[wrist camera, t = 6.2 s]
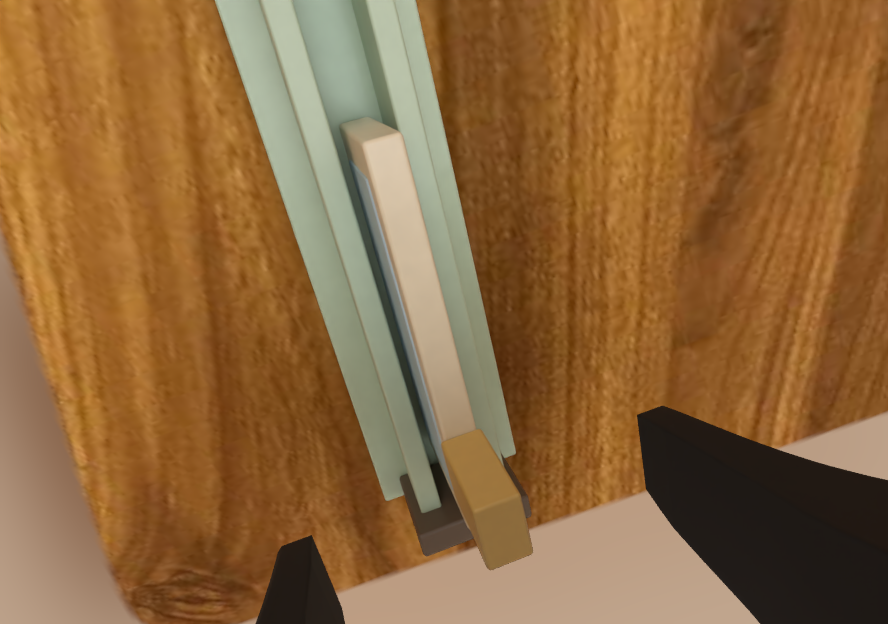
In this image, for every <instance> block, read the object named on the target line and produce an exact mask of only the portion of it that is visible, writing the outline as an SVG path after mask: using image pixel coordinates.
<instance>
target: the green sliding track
mask: <svg viewBox="0 0 888 624" xmlns="http://www.w3.org/2000/svg"><path fill="white" fill-rule="evenodd" d="M215 3H216V6H217V9H218V12H219V15H220V18H221V20H222V23H223V26H224V29H225V32H226V35H227V38H228V41H229V44H230V47H231V50H232V53H233V56H234V59H235V61H236V64H237V67H238V70H239V73H240V76H241V79H242V82H243V85H244V88H245V91H246V94H247V97H248V99H249V102H250V105H251V108H252V111H253V114H254V117H255V120H256V123H257V126H258V129H259V132H260V135H261V138H262V140H263V143H264V146H265V149H266V152H267V155H268V158H269V161H270V164H271V167H272V170H273V173H274V176H275V178H276V181H277V184H278V187H279V190H280V193H281V196H282V199H283V202H284V205H285V208H286V211H287V214H288V217H289V219H290V222H291V225H292V228H293V231H294V234H295V237H296V240H297V243H298V246H299V249H300V252H301V255H302V257H303V260H304V263H305V266H306V269H307V272H308V275H309V278H310V281H311V284H312V287H313V290H314V293H315V295H316V298H317V301H318V304H319V307H320V310H321V313H322V316H323V319H324V322H325V325H326V328H327V331H328V334H329V336H330V339H331V342H332V345H333V348H334V351H335V354H336V357H337V360H338V363H339V366H340V369H341V372H342V374H343V377H344V380H345V383H346V386H347V389H348V392H349V395H350V398H351V401H352V404H353V407H354V410H355V413H356V415H357V418H358V421H359V424H360V427H361V430H362V433H363V436H364V439H365V442H366V445H367V448H368V451H369V453H370V456H371V459H372V462H373V465H374V468H375V471H376V474H377V477H378V480H379V483H380V486H381V489H382V492H383V494H384V497H385V500H386V501H389V500H392V499H394V498H397V497H400V496H402V495H404V496H405V499H406V502H407V505H408V508H409V511H410V514H411V517H412V520H413V523H414V526H415V529H416V533H417V536H418V539H419V542H420V545H421V548H422V551H423V554H424V555H425V556H429V555H432V554H435V553H437V552H440V551H442V550H445V549H448V548H450V547H453V546H455V545H458V544H461V543H463V542H466V541H468V540H471V539H474V537H473V535H472V533H471V531H470V529H469V528H468V527H467V525H466V523H465V521H464V518H463V516H462V514H461V512H460V509H459V507H458V505H457V502H456V500H455V498H454V496H453V493H452V491H451V489H450V487H449V484H448V482H447V480H446V477H445V475H444V473H443V471H442V468H441V466H440V464H439V462H438V459H437V457H436V455H435V452H434V450H433V448H432V446H431V443H430V440H429V437H428V434H427V430H426V427H425V424H424V420H423V417H422V413H421V410H420V406H419V403H418V399H417V396H416V393H415V389H414V386H413V382H412V379H411V375H410V372H409V368H408V365H407V361H406V358H405V355H404V351H403V348H402V344H401V341H400V337H399V334H398V330H397V327H396V324H395V320H394V317H393V313H392V310H391V306H390V303H389V299H388V296H387V292H386V289H385V286H384V282H383V279H382V275H381V272H380V268H379V265H378V261H377V258H376V255H375V251H374V248H373V244H372V241H371V237H370V234H369V230H368V227H367V223H366V220H365V217H364V213H363V210H362V206H361V203H360V199H359V196H358V192H357V189H356V186H355V182H354V179H353V175H352V172H351V168H350V165H349V161H348V157H347V154H346V150H345V147H344V143H343V140H342V137H341V133H340V130H339V125H340V124H342V123H345V122H349V121H353V120H356V119H360V118H364V117H370V118H372V119H374V120H376V121H379V122H381V123H383V124H385V125H387V126H389V127H391V128H393V129H395V130H397V131H399V132H401V133H402V135H403V137H404V141H405V145H406V149H407V153H408V157H409V161H410V165H411V170H412V174H413V178H414V182H415V186H416V190H417V194H418V198H419V202H420V206H421V210H422V214H423V218H424V222H425V226H426V230H427V234H428V238H429V242H430V246H431V250H432V254H433V258H434V262H435V266H436V270H437V274H438V278H439V282H440V286H441V290H442V294H443V298H444V302H445V306H446V310H447V314H448V318H449V322H450V326H451V330H452V334H453V338H454V342H455V346H456V350H457V354H458V358H459V362H460V366H461V370H462V374H463V378H464V382H465V386H466V390H467V394H468V398H469V402H470V406H471V410H472V414H473V418H474V422H475V426H476V430H477V429H481V430H482V431H483V433H484V434H485V436H486V438H487V439H488V441H489V443H490V444H491V446H492V448H493V449H494V451H495V453H496V454H497V456H498V458H499V459H500V461H501V463H502V464H503V466H504V468H505V469H506V471H507V473H508V474H509V476H510V478H511V479H512V481H513V483H514V484H515V486H516V488H517V490H518V491H519V493H520V495H521V499H522V503H523V508H524V512H525V517H526V518H528V517H530V516H531V509H530V504H529V500H528V496H527V494H526V492H525V491H524V489H523V487H522V486H521V484H520V483H519V481H518V479H517V478H516V476H515V474H514V473H513V471H512V469H511V468H510V466H509V465H508V463H507V461H506V460H505V458H506V457H509V456H511V455H514V454H516V450H515V446H514V441H513V437H512V432H511V428H510V423H509V419H508V414H507V410H506V405H505V401H504V396H503V392H502V387H501V383H500V378H499V374H498V369H497V365H496V360H495V356H494V351H493V347H492V342H491V338H490V333H489V329H488V324H487V320H486V315H485V311H484V306H483V302H482V297H481V293H480V288H479V284H478V279H477V275H476V270H475V266H474V261H473V257H472V252H471V247H470V243H469V238H468V234H467V229H466V225H465V220H464V216H463V211H462V207H461V202H460V198H459V193H458V189H457V184H456V180H455V175H454V171H453V166H452V162H451V157H450V153H449V148H448V144H447V139H446V135H445V130H444V126H443V121H442V117H441V112H440V108H439V103H438V99H437V94H436V90H435V85H434V81H433V76H432V72H431V67H430V63H429V58H428V54H427V49H426V45H425V40H424V36H423V31H422V27H421V22H420V18H419V13H418V9H417V4H416V0H215Z"/></svg>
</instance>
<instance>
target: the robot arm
mask: <svg viewBox="0 0 888 624" xmlns="http://www.w3.org/2000/svg"><path fill="white" fill-rule="evenodd" d="M637 418H638V426H639V435H640V443H641V451H642V459H643V468H644V476H645V484H646V490H647V491H648V492H649V494H650V495H651V497H652V498H653V500H654V501H655V503H656V504H657V506H658V507H659V508H660V510H661V511H662V513H663V514H664V515H665V517H666V518H667V519H668V521H669V522H670V524H671V525H672V526H673V528H674V529H675V530H676V531H677V532H678V533H679V535H680V536H681V537H682V538H683V539H684V540H685V541H686V542H687V543H688V545H689V546H690V547H691V548H692V549H693V550H694V551H695V552H696V553H697V554H698V555H699V557H700V558H701V559H702V560H703V561H704V562H705V563H706V564H707V565H708V566H709V568H710V569H711V570H712V571H713V572H714V573H715V574H716V575H717V576H718V577H719V578H720V579H721V580H722V582H723V583H724V584H725V585H726V586H727V587H728V588H729V589H730V590H731V591H732V592H733V594H734V595H736V597H737V598H738V599H739V600H740V601H741V602H742V603H743V604H744V605H745V607H746V608H747V609H748V610H749V611H750V612H751V613H752V615H753V616H754V617H755V618H756V619H757V620H758V622H759V623H760V624H888V480H884V479H880V478H875V477H871V476H867V475H863V474H859V473H855V472H851V471H847V470H843V469H839V468H835V467H831V466H828V465H825V464H821V463H818V462H814V461H811V460H808V459H804V458H802V457H798V456H795V455H792V454H789V453H786V452H783V451H780V450H777V449H774V448H771V447H769V446H766V445H763V444H760V443H758V442H755V441H752V440H749V439H747V438H744V437H742V436H739V435H736V434H734V433H731V432H729V431H726V430H723V429H721V428H718V427H716V426H713V425H711V424H708V423H706V422H703V421H701V420H699V419H696V418H694V417H691V416H689V415H686V414H684V413H681V412H678V411H676V410H673V409H670V408H668V407H665V406H660V407H657V408H655V409H652V410H649V411H647V412H644V413H641V414H638V415H637ZM256 624H345V621H344V616H343V611H342V607H341V605H340V602H339V600H338V597H337V595H336V593H335V590H334V588H333V585H332V583H331V580H330V578H329V576H328V573H327V571H326V568H325V566H324V564H323V561H322V559H321V556H320V554H319V552H318V549H317V547H316V544H315V542H314V540H313V537H312V535H311V536H308V537H305V538H303V539H300V540H297V541H295V542H292V543H289V544H287V545H284V546H282V547H281V548H280V550H279V552H278V554H277V558H276V562H275V566H274V569H273V573H272V576H271V579H270V583H269V586H268V589H267V592H266V595H265V598H264V602H263V605H262V608H261V610H260V613H259V616H258V619H257V622H256Z"/></svg>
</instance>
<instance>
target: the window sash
mask: <svg viewBox="0 0 888 624" xmlns="http://www.w3.org/2000/svg"><path fill="white" fill-rule="evenodd" d="M339 130H340V133H341V137H342V140H343V143H344V147H345V150H346V154H347V157H348V161H349V165H350V168H351V172H352V175H353V179H354V182H355V186H356V189H357V192H358V196H359V199H360V203H361V206H362V210H363V213H364V217H365V220H366V223H367V227H368V230H369V234H370V237H371V241H372V244H373V248H374V251H375V255H376V258H377V261H378V265H379V268H380V272H381V275H382V279H383V282H384V286H385V289H386V292H387V296H388V299H389V303H390V306H391V310H392V313H393V317H394V320H395V324H396V327H397V330H398V334H399V337H400V341H401V344H402V348H403V351H404V355H405V358H406V361H407V365H408V368H409V372H410V375H411V379H412V382H413V386H414V389H415V393H416V396H417V399H418V403H419V406H420V410H421V413H422V417H423V420H424V424H425V427H426V430H427V434H428V437H429V440H430V443H431V446H432V448H433V450H434V452H435V455H436V457H437V459H438V462H439V464H440V466H441V468H442V471H443V473H444V475H445V477H446V480H447V482H448V484H449V487H450V489H451V491H452V493H453V496H454V498H455V500H456V502H457V505H458V507H459V509H460V512H461V514H462V516H463V518H464V521H465V523H466V525H467V527H468V528H469V529H470V531H471V533H472V535H473V537H474V540H475V542H476V544H477V547H478V549H479V551H480V553H481V556H482V558H483V560H484V562H485V565H486V567H487V568H488V569H489V570H493V569H496V568H498V567H501V566H503V565H506V564H509V563H511V562H514V561H516V560H519V559H521V558H524V557H526V556H529V555H531V554H532V553H533V547H532V543H531V539H530V534H529V530H528V525H527V521H526V517H525V512H524V508H523V503H522V499H521V495H520V493H519V491H518V490H517V488H516V486H515V484H514V483H513V481H512V479H511V478H510V476H509V474H508V473H507V471H506V469H505V468H504V466H503V464H502V463H501V461H500V459H499V458H498V456H497V454H496V453H495V451H494V449H493V448H492V446H491V444H490V443H489V441H488V439H487V438H486V436H485V434H484V433H483V431H482V430H481V429H477V430H476V426H475V422H474V418H473V414H472V410H471V406H470V402H469V398H468V394H467V390H466V386H465V382H464V378H463V374H462V370H461V366H460V362H459V358H458V354H457V350H456V346H455V342H454V338H453V334H452V330H451V326H450V322H449V318H448V314H447V310H446V306H445V302H444V298H443V294H442V290H441V286H440V282H439V278H438V274H437V270H436V266H435V262H434V258H433V254H432V250H431V246H430V242H429V238H428V234H427V230H426V226H425V222H424V218H423V214H422V210H421V206H420V202H419V198H418V194H417V190H416V186H415V182H414V178H413V174H412V170H411V165H410V161H409V157H408V153H407V149H406V145H405V141H404V137H403V135H402V133H401V132H399V131H397V130H395V129H393V128H391V127H389V126H387V125H385V124H383V123H381V122H379V121H376V120H374V119H372V118H370V117H364V118H360V119H356V120H353V121H349V122H345V123H342V124H340V125H339Z"/></svg>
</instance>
